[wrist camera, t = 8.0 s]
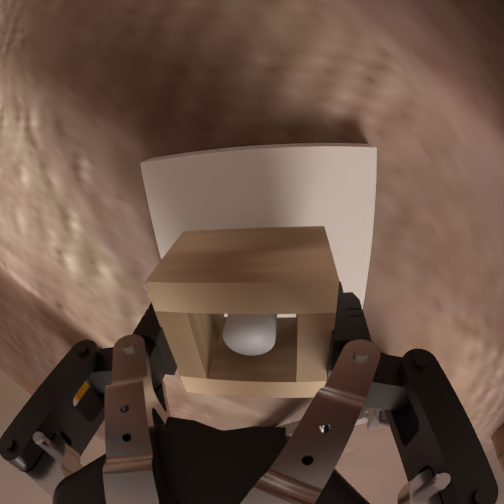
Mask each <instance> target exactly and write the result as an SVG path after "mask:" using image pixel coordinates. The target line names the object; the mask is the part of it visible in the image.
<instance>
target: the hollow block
mask: <svg viewBox="0 0 504 504" xmlns="http://www.w3.org/2000/svg"><path fill="white" fill-rule="evenodd" d="M145 283H146V287H147V290H148V293H149V296H150V299H151V302H152V305H153V308H154V310H155V313H156V316H157V319H158V322H159V324H160V327H162V328H163V331H164V334H165V336H166V339H167V342H168V344H169V347H170V349H171V352H172V354H173V357H174V359H175V362H176V364H177V370H178V372H179V375H180V377H181V379H182V382H183V384H184V386H185V389H186V391H187V392H193V393H202V394H212V395H224V396H239V397H261V398H310V397H315V395H316V393H317V392H318V390H319V389H320V388H322V389H323V387H324V386H325V384H326V381H327V372H326V371H327V364H328V357H329V350H330V342H331V335H332V330H334V326H335V318H336V309H337V300H338V289H339V277H338V274H337V270H336V266H335V262H334V259H333V255H332V251H331V248H330V244H329V241H328V237H327V234H326V230H325V227H324V226H303V227H270V228H242V229H218V230H197V231H183V232H182V233H181V234H180V236H179V237H178V238H177V240H176V241H175V242H174V244H173V245H172V246H171V248H170V249H169V250H168V252H167V253H166V254H165V256H164V257H163V258H162V260H161V261H160V262H159V264H158V265H157V266H156V268H155V269H154V270H153V272H152V273H151V275H150V276H149V277H148V279H147V280H146V282H145ZM224 314H296V317H278V318H277V326H276V339H275V344H274V346H273V348H272V349H271V350H269V351H268V352H266V353H264V354H261V355H255V356H249V355H243V354H240V353H237V352H235V351H233V350H232V349H230V348H229V347H228V346H227V345H226V343H225V341H224V339H223V331H224V327H225V323H226V320H227V317H224Z"/></svg>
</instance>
